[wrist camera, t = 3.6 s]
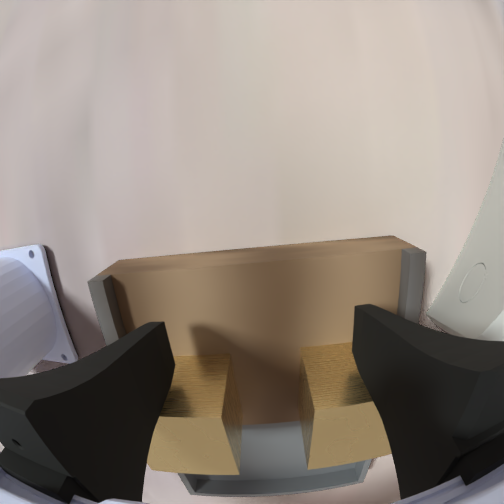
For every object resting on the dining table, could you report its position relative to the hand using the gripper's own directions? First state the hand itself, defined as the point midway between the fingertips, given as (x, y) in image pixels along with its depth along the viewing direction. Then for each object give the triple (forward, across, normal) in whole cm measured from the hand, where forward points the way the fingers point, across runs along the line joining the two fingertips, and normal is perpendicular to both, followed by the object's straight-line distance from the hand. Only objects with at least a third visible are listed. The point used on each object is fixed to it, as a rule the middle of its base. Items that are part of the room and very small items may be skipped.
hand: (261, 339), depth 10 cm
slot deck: (+4, 0, +2) cm, 4 cm away
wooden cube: (+2, +3, +4) cm, 5 cm away
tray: (+4, 0, +12) cm, 13 cm away
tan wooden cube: (+2, -4, +4) cm, 5 cm away
